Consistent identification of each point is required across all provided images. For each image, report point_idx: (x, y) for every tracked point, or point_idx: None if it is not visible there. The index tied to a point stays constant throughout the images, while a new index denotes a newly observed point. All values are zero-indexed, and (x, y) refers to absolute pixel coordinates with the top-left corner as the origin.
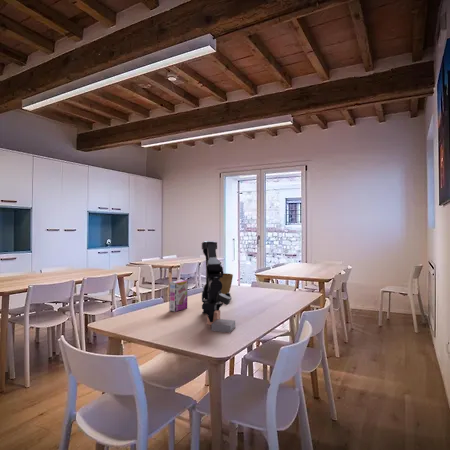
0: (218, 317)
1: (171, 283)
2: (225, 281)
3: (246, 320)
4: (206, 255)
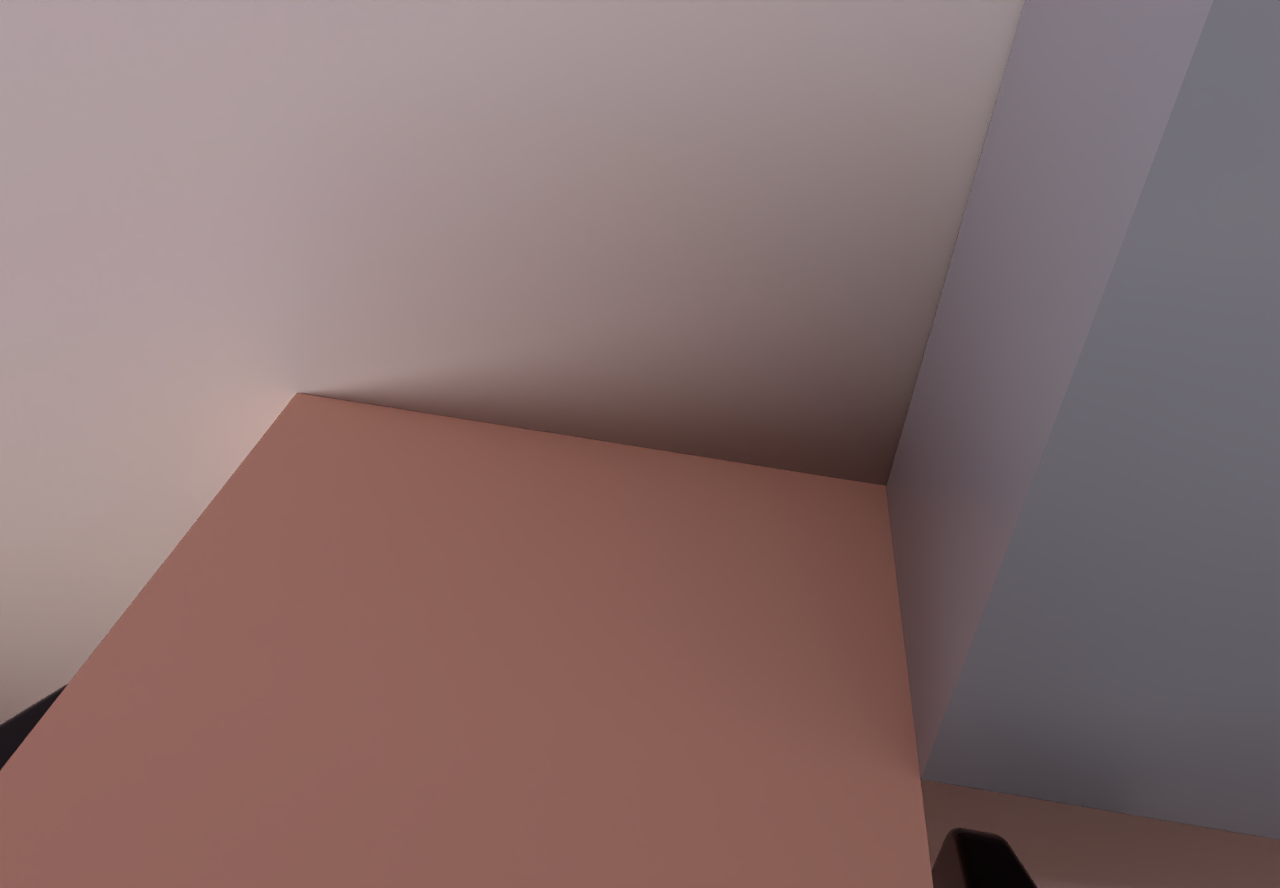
0: (571, 744)
1: None
2: None
3: None
4: None
